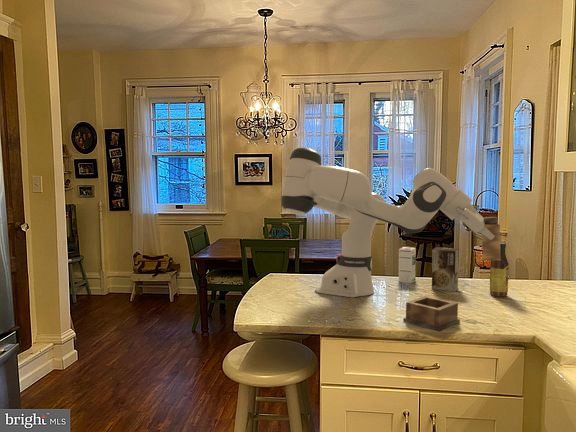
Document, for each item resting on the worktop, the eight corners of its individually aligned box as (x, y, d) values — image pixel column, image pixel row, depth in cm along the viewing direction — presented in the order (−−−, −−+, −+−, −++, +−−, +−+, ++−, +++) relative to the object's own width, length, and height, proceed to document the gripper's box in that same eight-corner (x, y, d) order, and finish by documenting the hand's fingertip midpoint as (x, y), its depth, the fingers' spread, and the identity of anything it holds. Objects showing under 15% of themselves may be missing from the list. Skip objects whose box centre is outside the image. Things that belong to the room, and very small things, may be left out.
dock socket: (403, 321, 136) (403, 302, 136) (424, 313, 144) (424, 295, 144) (439, 331, 127) (440, 310, 127) (459, 322, 136) (460, 303, 135)
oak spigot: (482, 260, 137) (481, 218, 137) (482, 257, 142) (481, 217, 141) (500, 260, 135) (499, 218, 135) (500, 257, 140) (499, 216, 139)
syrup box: (411, 283, 185) (412, 249, 184) (397, 282, 188) (398, 248, 187) (415, 281, 190) (416, 247, 189) (402, 279, 193) (402, 246, 192)
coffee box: (458, 288, 177) (459, 248, 176) (454, 292, 172) (456, 250, 171) (435, 285, 182) (436, 246, 181) (430, 288, 177) (432, 248, 175)
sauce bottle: (509, 297, 164) (512, 244, 162) (491, 297, 165) (493, 243, 163) (504, 293, 170) (507, 242, 168) (487, 292, 171) (489, 241, 170)
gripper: (463, 200, 131) (501, 233, 128) (466, 198, 150) (499, 226, 146) (448, 216, 133) (485, 248, 130) (453, 212, 152) (485, 240, 148)
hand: (493, 237), depth 138 cm, fingers closed on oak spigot, 5 cm apart
